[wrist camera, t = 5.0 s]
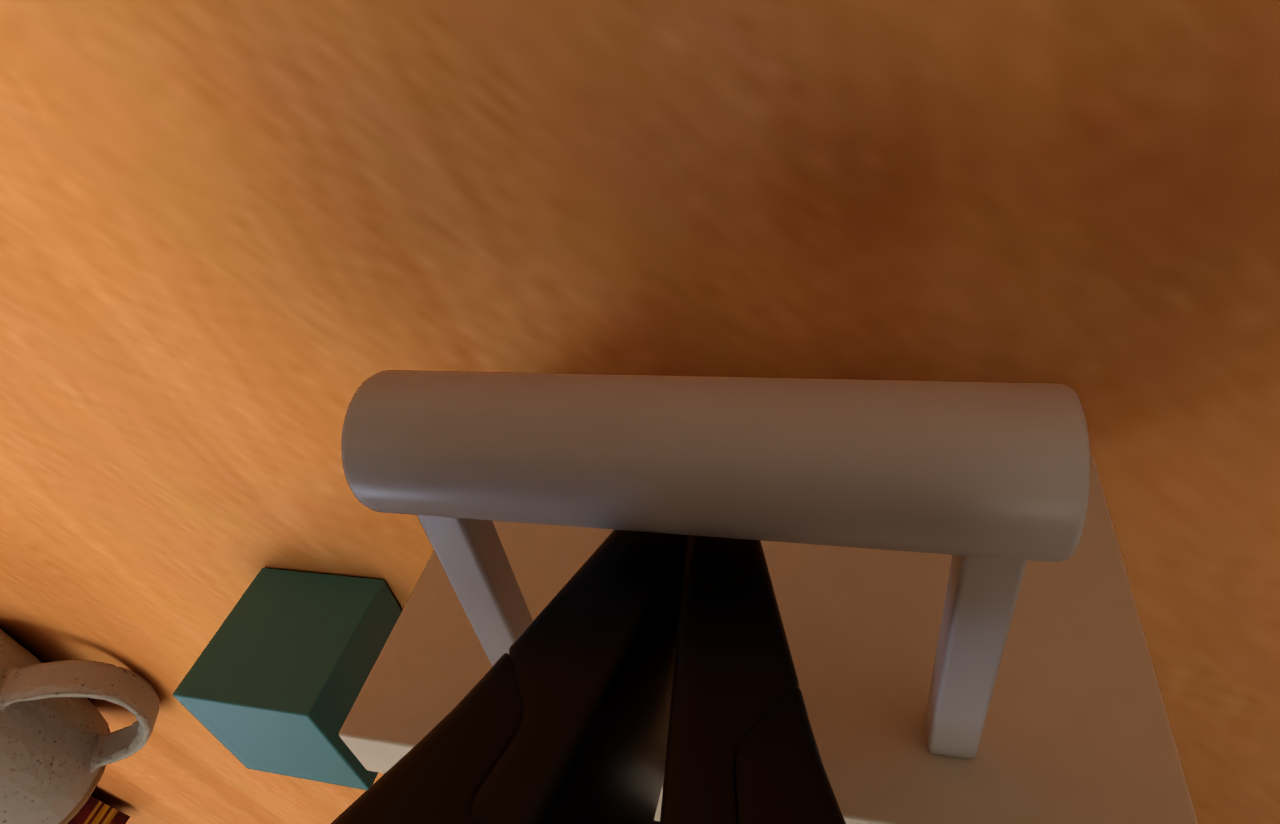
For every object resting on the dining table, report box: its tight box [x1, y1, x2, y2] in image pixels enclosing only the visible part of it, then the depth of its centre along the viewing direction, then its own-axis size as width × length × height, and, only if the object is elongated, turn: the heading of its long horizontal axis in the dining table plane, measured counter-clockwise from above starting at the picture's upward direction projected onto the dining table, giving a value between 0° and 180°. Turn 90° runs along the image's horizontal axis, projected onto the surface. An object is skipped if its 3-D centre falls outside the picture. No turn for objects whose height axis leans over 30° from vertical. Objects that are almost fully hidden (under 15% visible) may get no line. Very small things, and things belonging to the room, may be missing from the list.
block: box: [173, 568, 402, 790], centre depth 24 cm, size 4×4×4 cm
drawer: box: [339, 370, 1198, 824], centre depth 15 cm, size 19×11×7 cm, turn 9°
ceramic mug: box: [0, 629, 159, 824], centre depth 32 cm, size 11×8×8 cm
